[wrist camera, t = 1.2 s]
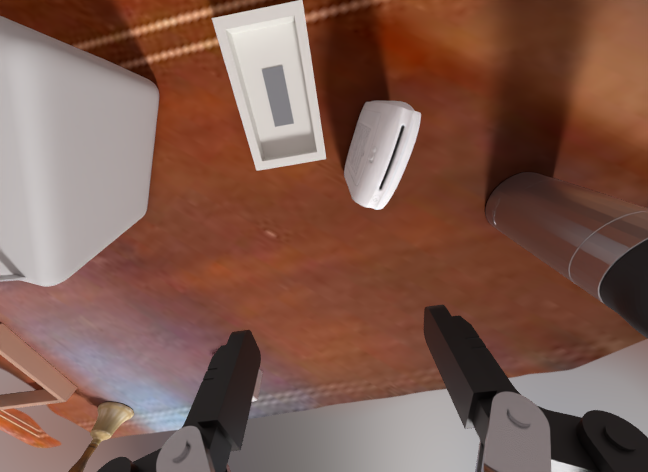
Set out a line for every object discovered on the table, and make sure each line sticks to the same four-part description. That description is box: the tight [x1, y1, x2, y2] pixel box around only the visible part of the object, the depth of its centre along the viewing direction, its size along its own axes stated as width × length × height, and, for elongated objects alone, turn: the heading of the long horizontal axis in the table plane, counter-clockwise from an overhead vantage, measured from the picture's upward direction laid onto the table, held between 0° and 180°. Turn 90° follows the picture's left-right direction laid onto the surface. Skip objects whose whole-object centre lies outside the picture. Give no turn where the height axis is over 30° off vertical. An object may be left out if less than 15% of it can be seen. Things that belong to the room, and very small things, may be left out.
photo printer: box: [344, 100, 421, 210], centre depth 27 cm, size 10×4×12 cm, turn 166°
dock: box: [212, 0, 326, 171], centre depth 28 cm, size 9×15×3 cm, turn 9°
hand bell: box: [69, 402, 134, 472], centre depth 55 cm, size 8×8×16 cm
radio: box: [0, 16, 159, 287], centre depth 20 cm, size 22×8×25 cm, turn 156°
